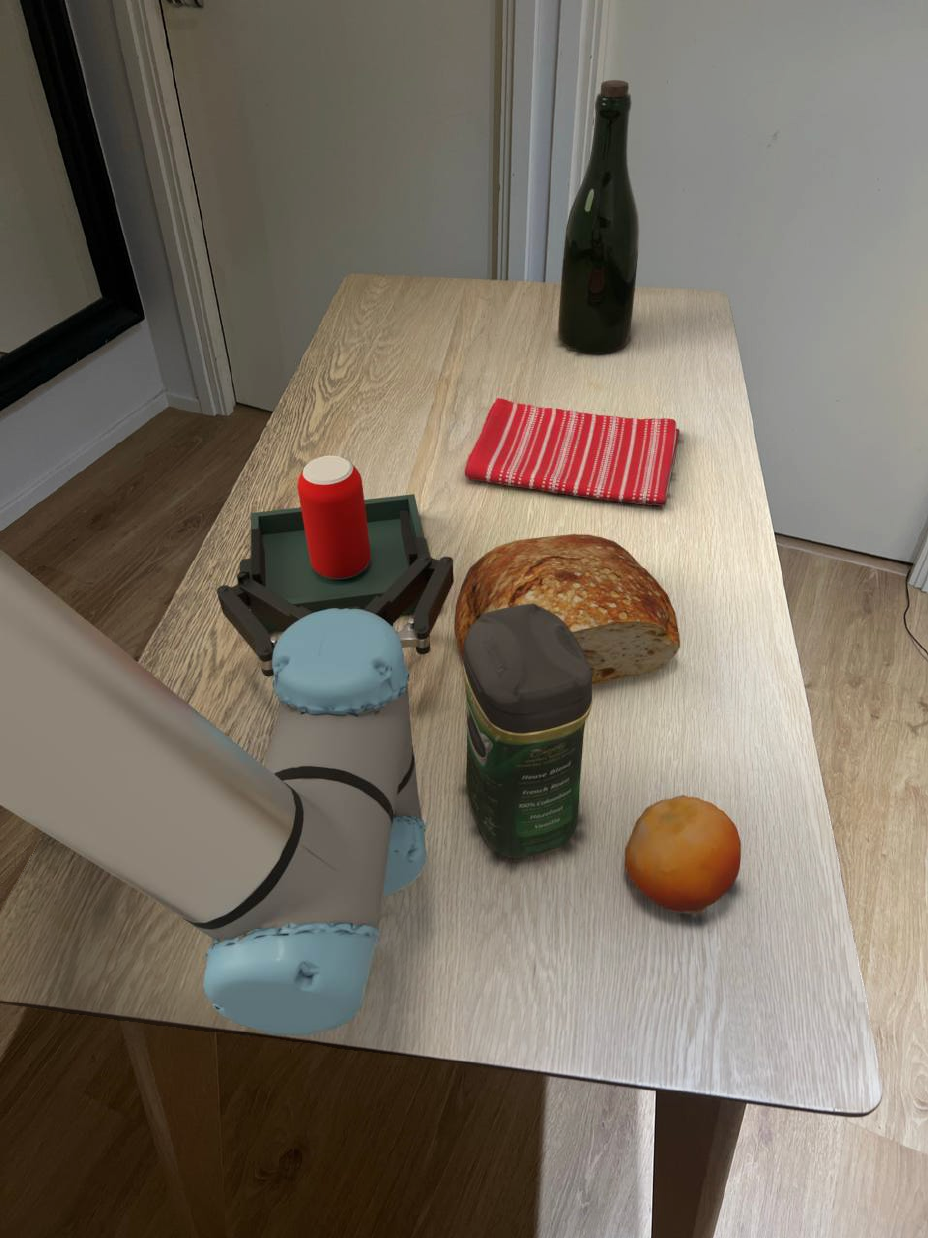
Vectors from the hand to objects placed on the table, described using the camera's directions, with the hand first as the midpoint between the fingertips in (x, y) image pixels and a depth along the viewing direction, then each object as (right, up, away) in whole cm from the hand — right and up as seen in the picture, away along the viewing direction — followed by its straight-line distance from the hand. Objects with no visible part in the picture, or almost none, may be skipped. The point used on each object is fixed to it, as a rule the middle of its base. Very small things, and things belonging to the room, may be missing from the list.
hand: (332, 531), depth 82 cm
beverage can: (0, -3, +9) cm, 10 cm away
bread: (+21, -10, +3) cm, 24 cm away
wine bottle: (+31, +33, +48) cm, 66 cm away
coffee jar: (+17, -23, -12) cm, 31 cm away
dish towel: (+25, +11, +25) cm, 37 cm away
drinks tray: (0, -3, +10) cm, 10 cm away
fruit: (+28, -27, -17) cm, 43 cm away
